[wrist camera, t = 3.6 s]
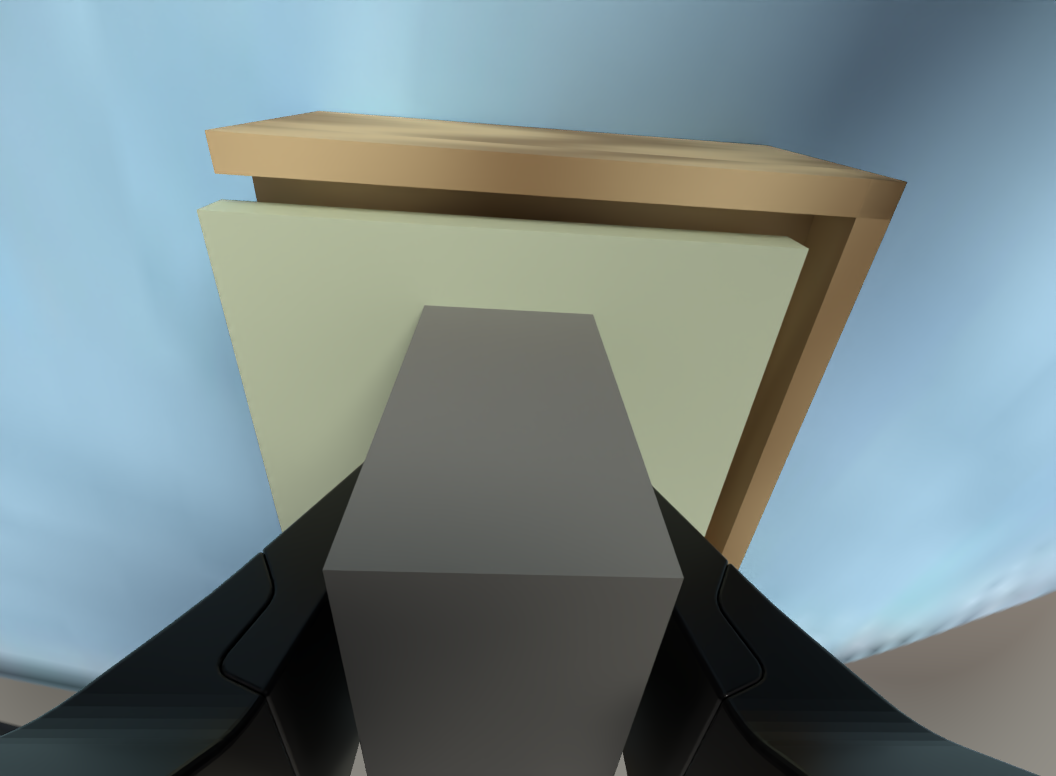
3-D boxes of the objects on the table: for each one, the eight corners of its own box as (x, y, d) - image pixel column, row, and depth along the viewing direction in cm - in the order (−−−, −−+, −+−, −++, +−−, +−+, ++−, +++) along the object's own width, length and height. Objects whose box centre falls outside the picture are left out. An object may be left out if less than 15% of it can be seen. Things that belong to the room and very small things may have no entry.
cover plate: (786, 236, 9) (1187, 464, 4) (687, 534, 13) (809, 852, 8) (221, 199, 9) (-282, 410, 3) (298, 523, 13) (137, 859, 7)
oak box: (768, 145, 13) (907, 182, 8) (677, 456, 18) (732, 581, 13) (318, 110, 12) (205, 130, 7) (361, 444, 17) (309, 572, 13)
